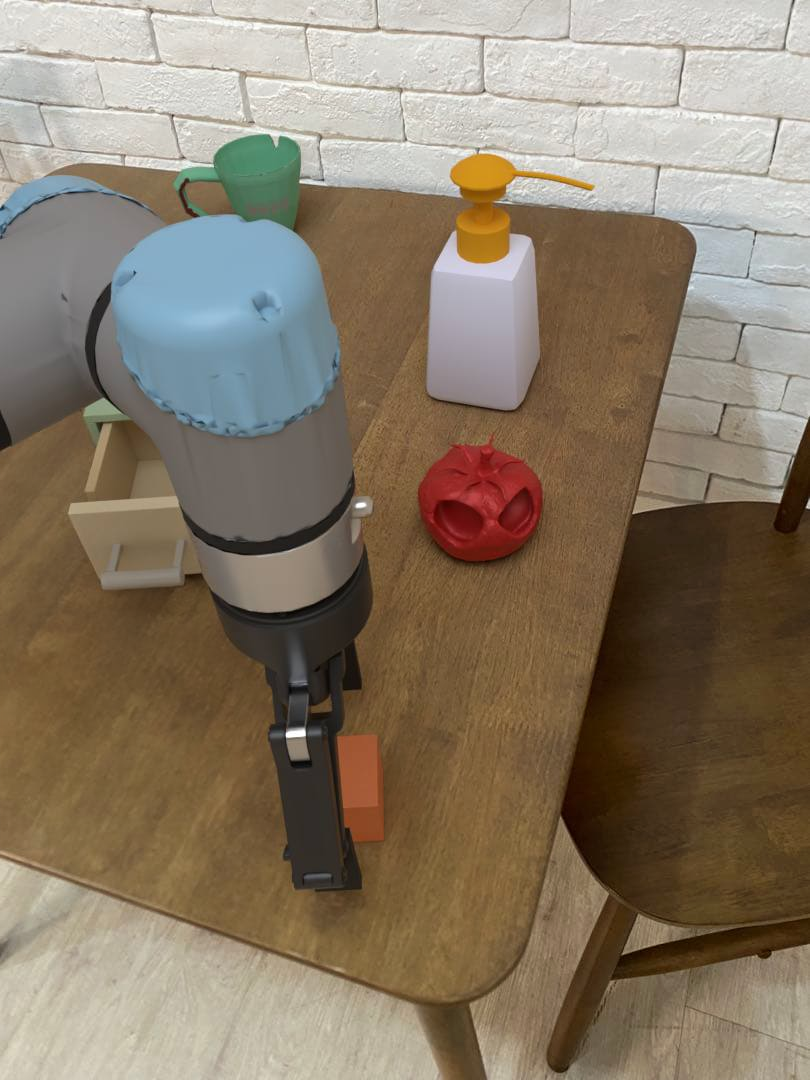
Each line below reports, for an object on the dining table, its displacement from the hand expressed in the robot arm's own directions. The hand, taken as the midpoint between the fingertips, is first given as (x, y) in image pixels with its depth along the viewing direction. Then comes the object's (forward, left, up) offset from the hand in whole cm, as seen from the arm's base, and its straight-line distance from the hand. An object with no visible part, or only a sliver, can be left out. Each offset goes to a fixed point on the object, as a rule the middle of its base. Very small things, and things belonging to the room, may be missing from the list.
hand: (340, 778), depth 59 cm
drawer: (-15, +25, -3) cm, 30 cm away
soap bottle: (+15, +43, -5) cm, 46 cm away
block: (0, 0, -4) cm, 4 cm away
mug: (-12, +73, -5) cm, 74 cm away
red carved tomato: (+11, +24, -5) cm, 27 cm away
